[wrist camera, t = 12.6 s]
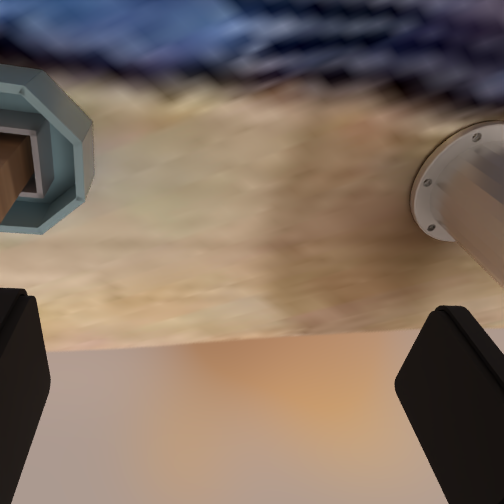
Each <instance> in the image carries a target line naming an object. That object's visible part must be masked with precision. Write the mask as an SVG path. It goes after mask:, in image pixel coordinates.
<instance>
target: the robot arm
mask: <svg viewBox="0 0 504 504" xmlns="http://www.w3.org/2000/svg"><path fill="white" fill-rule="evenodd" d="M410 206H411V213H412V215H413V218H414V220H415V222H416V223H417V224H418V226H419V227H420V228H421V229H422V230H423V231H424V232H425V233H426V234H427V235H429V236H431V237H432V238H434V239H437V240H441V241H448V242H457V243H458V244H459V245H460V246H461V247H462V248H463V249H464V250H465V251H466V252H467V253H468V254H469V255H470V256H471V257H472V258H473V259H474V260H475V261H476V262H477V263H478V264H479V265H480V266H481V267H482V268H483V269H484V270H485V271H486V272H487V273H488V274H489V275H490V276H491V277H492V278H493V279H494V280H495V281H496V282H497V283H498V284H499V285H500V286H501V287H502V288H503V289H504V122H503V121H489V122H483V123H479V124H475V125H473V126H470V127H468V128H466V129H463V130H461V131H459V132H458V133H456V134H455V135H453V136H451V137H450V138H448V139H447V140H446V141H445V142H443V143H442V144H441V145H440V146H439V147H437V149H436V150H435V151H434V152H433V153H432V154H431V155H430V156H429V157H428V158H427V160H426V161H425V163H424V164H423V166H422V167H421V169H420V170H419V172H418V174H417V176H416V178H415V181H414V184H413V187H412V191H411V198H410ZM50 380H51V379H50V372H49V367H48V361H47V356H46V350H45V345H44V340H43V334H42V329H41V323H40V318H39V313H38V307H37V302H36V298H35V297H34V296H28V295H27V292H26V290H25V289H18V288H0V504H11V502H12V499H13V496H14V493H15V490H16V487H17V484H18V482H19V479H20V476H21V472H22V470H23V467H24V464H25V461H26V458H27V455H28V452H29V449H30V446H31V444H32V440H33V438H34V435H35V432H36V429H37V426H38V423H39V420H40V417H41V414H42V411H43V408H44V406H45V403H46V400H47V397H48V394H49V390H50ZM395 391H396V394H397V396H398V398H399V400H400V402H401V404H402V406H403V408H404V410H405V413H406V415H407V417H408V419H409V421H410V423H411V425H412V427H413V430H414V432H415V434H416V436H417V438H418V440H419V442H420V444H421V446H422V448H423V450H424V452H425V455H426V457H427V459H428V461H429V463H430V465H431V467H432V469H433V472H434V473H435V476H436V478H437V480H438V482H439V484H440V486H441V488H442V491H443V493H444V494H445V497H446V499H447V501H448V503H449V504H504V354H503V353H502V352H501V351H500V350H499V348H498V347H497V346H496V344H495V343H494V342H493V341H492V339H491V338H490V337H489V336H488V334H487V333H486V332H485V331H484V329H483V328H482V327H481V326H480V324H479V323H478V322H477V321H476V319H475V318H474V317H473V316H472V314H471V313H470V312H469V311H468V310H467V309H466V308H465V307H462V306H444V305H443V306H439V307H437V308H436V309H435V311H432V312H431V313H430V314H429V316H428V318H427V320H426V322H425V323H424V325H423V327H422V329H421V331H420V333H419V335H418V337H417V339H416V341H415V342H414V344H413V346H412V348H411V350H410V352H409V354H408V356H407V358H406V359H405V361H404V363H403V365H402V367H401V369H400V371H399V373H398V375H397V377H396V379H395Z"/></svg>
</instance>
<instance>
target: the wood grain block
mask: <svg viewBox="0 0 504 504" xmlns="http://www.w3.org/2000/svg"><path fill="white" fill-rule="evenodd" d="M34 172H35V171H34V163H33V155H32V146H31V138H30V136H29V135H21V134H12V133H4V132H0V223H1V222H2V220H3V219H4V217H5V216H6V214H7V213H8V211H9V210H10V208H11V207H12V205H13V204H14V202H15V201H16V199H17V198H18V196H19V194H20V193H21V191H22V190H23V188H24V187H25V185H26V184H27V182H28V181H29V179H30V178H31V176H32V175H33V173H34Z"/></svg>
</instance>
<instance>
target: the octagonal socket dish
mask: <svg viewBox="0 0 504 504" xmlns="http://www.w3.org/2000/svg"><path fill="white" fill-rule="evenodd" d="M0 132H4V133H12V134H21V135H29V136H30V138H31V146H32V155H33V163H34V171H35V172H34V173H33V175H32V176H31V178H30V179H29V181H28V182H27V184H26V185H25V187H24V188H23V190H22V191H21V193H20V194H19V196H18V198H17V199H16V201H15V202H14V204H13V205H12V207H11V208H10V210H9V211H8V213H7V214H6V216H5V217H4V219H3V220H2V222H1V223H0V232H10V233H24V234H39V235H42V234H44V233H45V232H46V231H47V230H49V229H50V228H51V227H53V226H54V225H55V224H57V223H58V222H59V221H60V220H62V219H63V218H64V217H66V216H67V215H68V214H69V213H71V212H72V211H73V210H75V209H76V208H77V207H78V206H80V205H81V204H82V203H84V202H85V200H86V197H87V194H88V192H89V189H90V186H91V184H92V181H93V178H94V146H93V122H92V120H91V119H90V118H89V117H88V116H87V115H86V114H85V113H84V112H83V111H82V110H81V109H80V108H79V107H78V106H77V105H76V104H75V103H74V102H73V101H72V100H71V99H70V98H69V97H68V95H67V94H66V93H65V92H64V91H63V90H62V89H61V88H60V87H59V86H58V85H57V84H56V83H55V82H54V81H53V80H52V79H51V78H50V77H49V76H48V75H47V74H46V73H45V72H44V71H43V70H39V69H33V68H26V67H20V66H13V65H6V64H0Z"/></svg>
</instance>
